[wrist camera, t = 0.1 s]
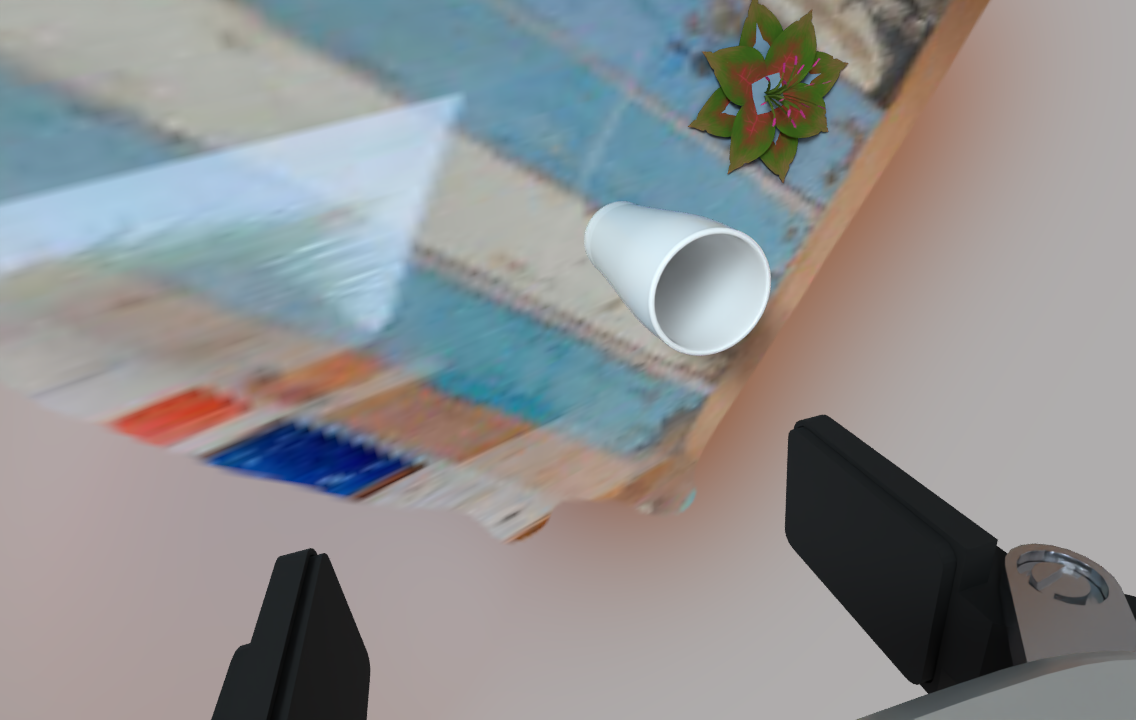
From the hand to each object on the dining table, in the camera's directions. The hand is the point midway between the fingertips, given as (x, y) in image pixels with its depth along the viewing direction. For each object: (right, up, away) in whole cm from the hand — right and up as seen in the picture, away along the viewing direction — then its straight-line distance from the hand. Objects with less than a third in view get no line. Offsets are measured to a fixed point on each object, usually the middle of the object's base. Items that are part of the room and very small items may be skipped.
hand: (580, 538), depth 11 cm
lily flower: (+14, +23, +30) cm, 40 cm away
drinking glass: (+3, +13, +31) cm, 33 cm away
